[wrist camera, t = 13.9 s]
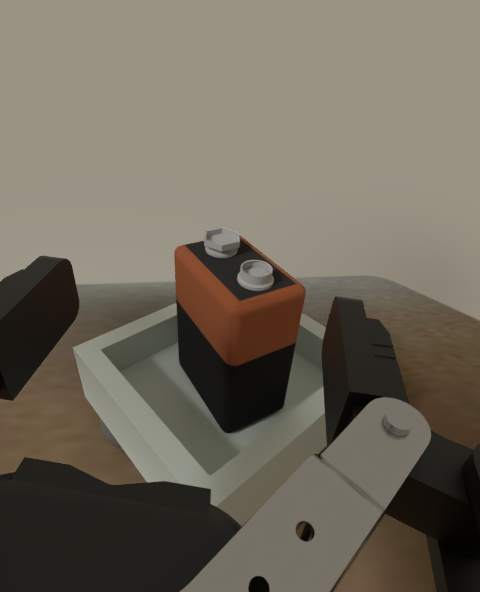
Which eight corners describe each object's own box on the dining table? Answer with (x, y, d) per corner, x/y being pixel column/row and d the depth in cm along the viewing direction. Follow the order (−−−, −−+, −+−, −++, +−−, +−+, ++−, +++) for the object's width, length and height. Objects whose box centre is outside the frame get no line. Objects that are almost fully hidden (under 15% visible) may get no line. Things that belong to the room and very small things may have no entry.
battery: (231, 343, 28) (239, 216, 23) (286, 410, 24) (315, 271, 18) (176, 363, 26) (170, 229, 21) (225, 440, 22) (234, 295, 16)
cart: (203, 592, 21) (205, 515, 16) (94, 432, 28) (72, 347, 23) (351, 443, 29) (382, 362, 24) (235, 349, 36) (241, 274, 32)
